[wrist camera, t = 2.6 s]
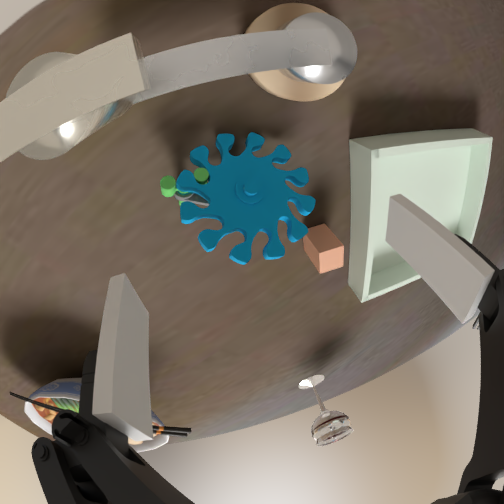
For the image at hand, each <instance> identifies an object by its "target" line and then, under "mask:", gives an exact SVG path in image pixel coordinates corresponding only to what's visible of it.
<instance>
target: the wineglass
mask: <svg viewBox="0 0 504 504" xmlns="http://www.w3.org/2000/svg"><path fill="white" fill-rule="evenodd" d="M323 380H324V376H323V375H314V376H311V377H309V378H307V379H305V380H304V381H302V382H301V383H300V384H299V388H300V389H309V388H312V387H313V389H314V392H315V395H316V398H317V400H318V403H319V406H320V409H321V411H322V412H321V413H320V416H319V417H318V418H317V419H316V420H315V421H314V423H313V425H312V429H311V433H312V437H313V438H314V439H315V440H316V441H317V443H316V446H324V445H328V444H331V443H334V442H336V441H338V440H341V439H343V438H344V437H346V436H348V435H349V434H351V433H352V432H353V431H354V429H352V428H351V427H350V424H351V422H350V419H349V417H348V416H347V415H345V414H344V413H342V412H339V411H329V410H326V409H325V407H324V405H323V403H322V401H321V399H320V396H319V394H318V392H317V390H316V388H315V386H317V385H318V384H320V383H321V382H322V381H323Z"/></svg>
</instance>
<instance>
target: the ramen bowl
mask: <svg viewBox="0 0 504 504" xmlns="http://www.w3.org/2000/svg"><path fill="white" fill-rule="evenodd" d="M81 381H82V378H64V379H57V380H55V381H53V382H51V383H49V384H46V385H45V386H43V387H41V388H39V389H38V390H36V391H35V392H34V393H33V394H31V395H30V397H29V398H26V397H23V396H20V395H17V394H14V393H12V392H10V395H12V396H15V397H17V398H20V399H22V400H25V407H24V412H25V413H26V414H27V416H28V417H29V418H30V419H31V421H32V422H33V423H34V424H36V425H37V426H39V427H40V428H42V429H43V430H44V431H46V432H47V433H49V434H51V435H52V422H53V419H54V418H55V416H56V415H57V413H59V412H60V411H62V410H66V409H69V410H72V411H74V412H76V413H77V414H78V413H79V400H80V390H81V385H82V383H81ZM13 394H14V395H13ZM18 396H19V397H18ZM23 398H24V399H23ZM151 417H152V429H153V439H154V440H146V441H134V440H132V439H131V438H129V437H128V444H129V446H131V447H132V448H133V449H134V450H135V451H136V452H142V451H146V450H152V449H156V448H158V447H160V446H162V445H164V444H166V443H167V442H168V439H169V436H178V437H187V433H191V428H180V427H166V426H164V424H163V423H162V422H161V421H160V419H159V418H158V417H157V416H156V415H155V414H154V412H153V411H152V410H151Z"/></svg>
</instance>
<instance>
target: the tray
mask: <svg viewBox="0 0 504 504" xmlns="http://www.w3.org/2000/svg"><path fill="white" fill-rule="evenodd" d="M492 139H493V137H491V136H489V135H487V134H484V133H482V132H480V131H477V130H475V129H473V128H464V129H441V130H426V131H414V132H403V133H394V134H385V135H377V136H369V137H362V138H355V139H349V150H350V178H351V228H350V257H349V275H348V284H349V286H350V287H351V289H352V290H353V291H354V293H355V294H356V296H357V297H358V298H359V300H360V301H361V303H362V302H365V301H367V300H370V299H372V298H375V297H377V296H380V295H382V294H384V293H387V292H389V291H392V290H394V289H396V288H399V287H401V286H403V285H405V284H408V283H410V282H412V281H414V280H417V279H419V278H421V276H420V275H419V274H418V273H417V272H416V271H415V270H414V269H413V268H412V267H411V266H410V265H409V264H408V263H407V262H406V261H405V260H404V259H403V258H402V257H401V256H400V255H399V254H398V253H397V252H396V251H395V250H394V249H393V248H392V247H391V246H390V245H389V244H388V243H387V242H386V241H385V239H386V230H387V221H388V210H389V198H390V196H394V195H397V194H402V195H403V196H405V197H406V198H407V199H409V200H410V201H412V202H413V203H414V204H416V205H417V206H418V207H420V208H421V209H423V210H424V211H425V212H427V213H428V214H429V215H431V216H432V217H433V218H434V219H436V220H437V221H438V222H440V223H441V224H442V225H443V226H445V227H446V228H447V229H448V230H450V231H451V232H452V233H453V234H457V235H459V236H461V237H463V238H465V239H466V240H467V241H468V242H469V243H471V244H472V241H473V238H474V234H475V231H476V227H477V223H478V219H479V215H480V211H481V207H482V202H483V198H484V193H485V188H486V183H487V177H488V171H489V164H490V157H491V149H492Z"/></svg>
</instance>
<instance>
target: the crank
mask: <svg viewBox="0 0 504 504" xmlns="http://www.w3.org/2000/svg"><path fill="white" fill-rule="evenodd" d="M356 60H357V45H356V42H355V39H354V37H353V35H352V33H351V31H350V30H349V29H348V27H347V26H346V25H345V24H344V23H343V22H341V21H340V20H339V19H337V18H335V17H333V16H331V15H329V14H325V13H319V12H313V13H307V14H304V15H301V16H299V17H297V18H295V19H292V20H290V21H288V22H286V23H284V24H282V25H281V26H279V27H278V28H277V29H276V31H266V32H256V33H248V34H241V35H234V36H228V37H222V38H217V39H212V40H207V41H202V42H198V43H193V44H189V45H185V46H181V47H177V48H173V49H170V50H166V51H163V52H159V53H156V54H153V55H150V56H147V57H144V58H143V54H142V50H141V45H140V41H139V40H138V39H137V38H136V37H135V36H134V35H133V34H132V33H128V34H126V35H123V36H120V37H118V38H115V39H112V40H110V41H108V42H105V43H103V44H100V45H98V46H96V47H93V48H91V49H89V50H87V51H85V52H83V53H81V54H78V55H75V54H69V53H63V52H51V53H46V54H43V55H40V56H38V57H36V58H35V59H33V60H31V61H30V62H29V63H27V64H26V65H25V66H24V67H23V68H22V69H21V70H20V71H19V72H18V74H17V75H16V76H15V78H14V79H13V81H12V83H11V85H10V87H9V89H8V92H7V95H6V98H5V99H4V100H3V101H2V102H0V163H1V162H3V161H4V160H6V159H7V158H9V157H10V156H12V155H13V154H15V153H16V152H18V151H19V152H20V153H22V154H23V155H25V156H27V157H29V158H32V159H37V160H47V159H52V158H55V157H58V156H60V155H62V154H64V153H65V152H67V151H68V150H70V149H71V148H72V147H74V146H75V145H77V144H78V143H79V142H81V141H82V140H84V139H85V138H87V137H88V136H90V135H91V134H93V133H94V132H96V131H97V130H99V129H100V128H102V127H103V126H105V125H106V124H108V123H110V122H111V121H113V120H115V119H116V118H118V117H120V116H121V115H123V114H124V113H126V112H127V111H128V110H129V109H130V108H131V106H132V105H133V104H135V103H138V102H141V101H143V100H146V99H149V98H152V97H155V96H159V95H162V94H165V93H168V92H172V91H175V90H179V89H182V88H186V87H189V86H193V85H197V84H201V83H205V82H210V81H214V80H218V79H223V78H228V77H233V76H238V75H244V74H250V73H256V72H262V71H269V70H277V69H278V70H279V71H280V72H281V73H282V74H284V75H285V76H286V77H288V78H290V79H292V80H295V81H298V82H306V83H317V84H333V83H337V82H339V81H341V80H343V79H345V78H346V77H347V76H348V75H349V74H350V73H351V72H352V70H353V68H354V66H355V64H356Z"/></svg>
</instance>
